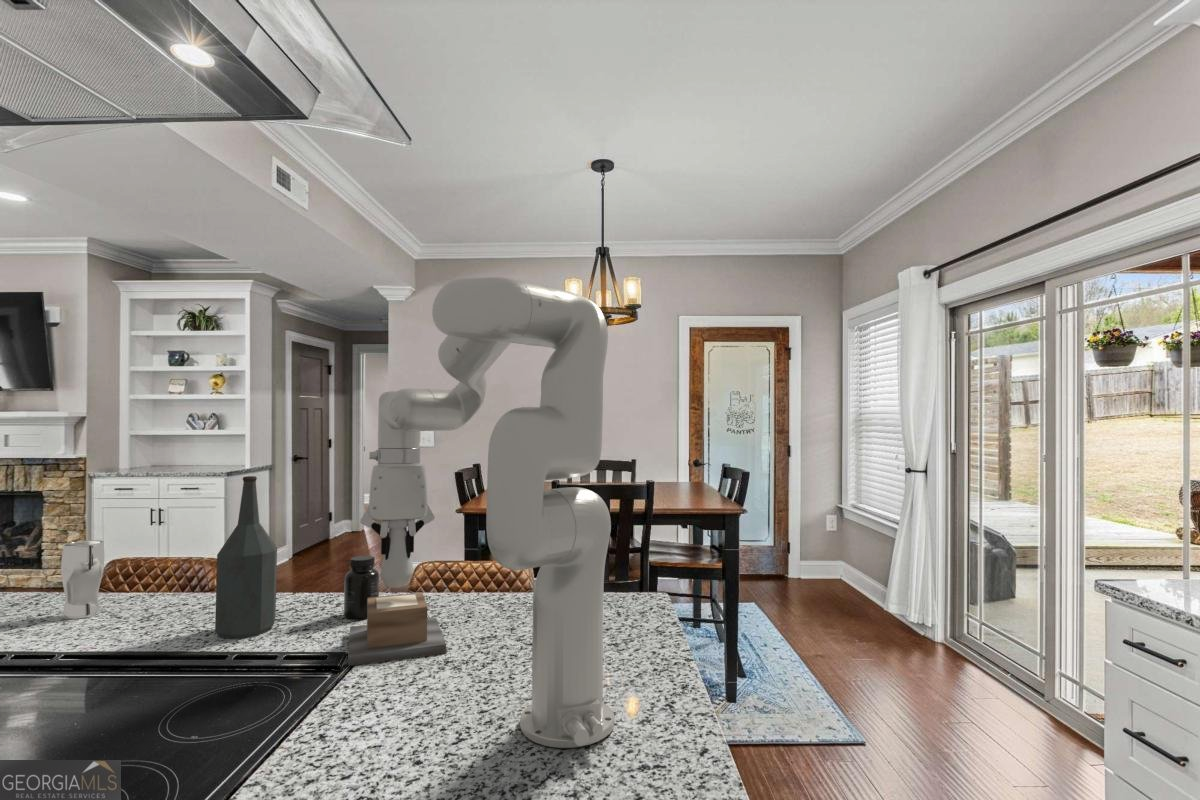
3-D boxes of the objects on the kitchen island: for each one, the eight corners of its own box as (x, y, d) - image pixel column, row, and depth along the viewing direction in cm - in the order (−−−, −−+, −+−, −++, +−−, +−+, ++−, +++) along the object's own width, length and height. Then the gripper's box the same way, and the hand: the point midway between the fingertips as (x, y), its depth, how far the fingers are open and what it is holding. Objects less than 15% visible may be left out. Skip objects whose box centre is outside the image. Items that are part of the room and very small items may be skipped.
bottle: (270, 635, 115) (274, 477, 117) (210, 642, 112) (215, 479, 113) (277, 619, 125) (280, 473, 126) (222, 625, 121) (226, 474, 123)
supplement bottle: (372, 608, 133) (373, 553, 133) (383, 616, 127) (384, 558, 128) (339, 614, 128) (340, 557, 129) (349, 622, 123) (351, 563, 123)
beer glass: (50, 618, 125) (53, 545, 126) (87, 608, 132) (90, 539, 132) (74, 621, 123) (77, 547, 124) (110, 611, 130) (113, 541, 130)
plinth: (446, 653, 107) (446, 608, 107) (347, 665, 101) (348, 619, 101) (436, 625, 122) (436, 586, 122) (349, 634, 116) (350, 594, 116)
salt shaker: (418, 581, 114) (419, 512, 115) (405, 589, 109) (406, 516, 109) (388, 580, 115) (389, 511, 116) (374, 588, 109) (375, 516, 110)
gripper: (351, 459, 106) (349, 565, 106) (446, 458, 112) (445, 558, 111) (352, 457, 113) (350, 556, 113) (441, 456, 119) (440, 550, 118)
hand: (397, 556), depth 112 cm, fingers closed on salt shaker, 3 cm apart
